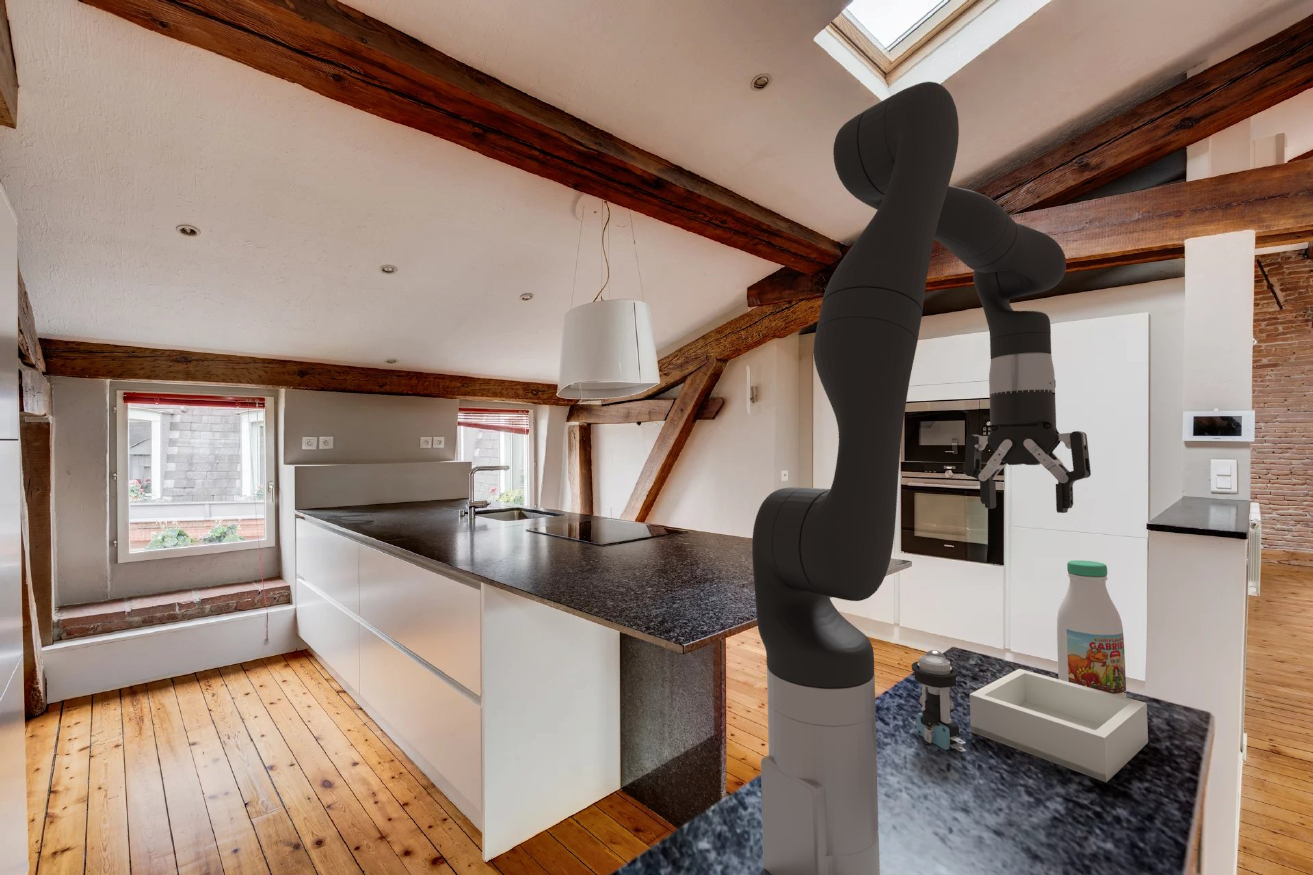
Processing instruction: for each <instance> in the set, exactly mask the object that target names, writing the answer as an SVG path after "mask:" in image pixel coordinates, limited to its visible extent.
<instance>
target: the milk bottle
mask: <svg viewBox="0 0 1313 875" xmlns="http://www.w3.org/2000/svg"><path fill="white" fill-rule="evenodd" d="M1066 567H1067V568H1066V569H1067V572H1068V573H1067V576H1068V578H1069V585H1068V588H1067V591H1066V593H1065V595H1064V597H1063V599H1062V601H1061V603H1060V605H1059V607H1058V612H1057V618H1056V644H1057V647H1056V648H1057V671H1058V673H1057V676H1058V678H1057V679H1059V680H1063V681H1067V682H1070V683H1074V684H1078V685H1082V686H1085V687H1089V688H1093V689H1096V690H1100V691H1104V692H1108V693H1111V694H1115V695H1119V696H1122V697H1126V698H1127V679H1126V659H1125V658H1126V656H1125V638H1124V627H1123V622H1122V619H1121V615H1120V613H1119V612H1118V610H1117V608H1116V606H1115V603H1114V602H1113V600H1112V598H1111V596H1110V594H1109V592H1108V588H1107V585H1106V582H1107V580H1108V566H1107V564H1105V563H1102V562H1099V561H1093V560H1078V559H1076V560H1069V561H1067V564H1066ZM1084 681H1085V682H1084ZM1093 683H1094V684H1093ZM1099 685H1101V686H1099ZM1103 686H1106V687H1103ZM1111 688H1114V689H1111ZM1117 690H1119V691H1117ZM1124 692H1126V693H1124Z"/></svg>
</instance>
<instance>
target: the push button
mask: <svg viewBox="0 0 1313 875" xmlns="http://www.w3.org/2000/svg"><path fill="white" fill-rule="evenodd" d="M945 658H946V657H945ZM945 658H942V657H938V656H925V655H921V656H919V658H918V660H917V661H915V662H913V663H912V664H911V671H912V672H913V673H914V674H913V676H914V680H915V682H917V683H919V684H921V696H922V705H921V711H922V712H919V713H917V714H916V724H917V726H916V727H917V728H916V732H917V734H918V735H919V736H920V737H922V738H924V740H925V741H926V742H928V743H929V744H931V743H933V744H935V745H936V746H938V747H939V748H941V749H943V750H945V751H947V750H950V749H951V750H952V749H955V750H957V751H959V752H961V753H964V752H967V749H965V748H963V747H961V745H964V744H966V741H965V740H963V739H961V738H960V726H959V725H958V724H957V723H955V722H953V721H952V719H951V711H950V702H949V699H950V689H951V688H953V687H955V686H956V685H957V678H958V677H959V670H958V669H957V667H955V666H953V665H951V661H950V660H948V659H947V658H946V659H945Z"/></svg>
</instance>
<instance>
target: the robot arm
mask: <svg viewBox="0 0 1313 875" xmlns="http://www.w3.org/2000/svg"><path fill="white" fill-rule="evenodd" d="M958 115H959V114H958V109H957V106H956V104H955V101H954V98H953V96H952V94H951V93H950V91H949V90H948V89H947V88H946V87H945V86H944V85H942V84H940V83H938V82H935V81H923V82H919V83H916V84H912V85H911V86H908V87H906V88H904V89H902V90H899V91H897V93H894V94H892V95H890V96H889V97H887V98H885V99H882V100H881V101H880V102H878V103H876V104H875V105H872V106H871V107H869V108H867V109H865V110H863V111H862V112H860V113H858V114H857V115H855V116H854V117H852V118H850V119H849V120H848V121H847V122H845V123H844V124H843V125H842V126H841V127H840V129H839V130H838V132H837V134H836V136H835V139H834V142H833V148H832V149H833V154H832V155H833V163H834V168H835V171H836V174H837V176H838V179H839V181H841V184H842V185H843V187H844V188H845V189H846V190H847V192H849V193H850V194H851V195H852V196H853V197H854V198H855V199H857V200H859V201H860V202H862V203H863V204H865V205H867V206H869V207H870V208H873V209H874V210H877V211H876V212H875V214H874V215H873V217H872V218H871V219H870V221H869V222H868V224H867V225H866V227H865V228H864V230H863V231H862V232H861V234H860V235H859V236H858V237H857V239H856V240H855V242H854V243H853V245H851V247H850V249H849V250H848V251H847V253H846V254H845V255H844V257H842V258H843V259H842V260H841V261H840V263H839V264H838V266H837V268H836V269H835V270H834V271H833V274H832V276H830V279H829V281H828V284H827V286H826V288H825V290H824V293H823V296H822V297H823V298H822V300H821V305H820V310H819V311H820V312H819V316H818V320H817V325H816V330H815V335H814V339H813V340H814V341H813V359H814V364H815V368H816V372H817V374H818V377H819V381H820V382H821V385H822V387H823V390H824V392H825V394H826V396H827V399H828V400H829V403H830V406H831V408H832V411H833V413H834V417H835V419H836V424H837V431H838V446H837V447H838V448H837V456H836V463H835V470H834V474H833V475H834V476H833V479H832V480H833V481H832V483H831V487H830V488H816V487H812V488H811V487H783V488H779V489H776V490H775V491H773V492H771V493H770V494H769V495H768V496H766V498H765V499H764V500H763V502H762V503H761V505H760V507H759V509H758V511H757V512H756V513H757V514H756V517H755V521H754V525H753V532H752V540H751V544H752V546H751V547H752V548H751V549H752V550H751V551H752V557H751V558H752V571H753V585H754V597H755V610H756V614H755V615H756V623H757V629H758V633H759V636H760V639H761V641H762V644H763V646H764V648H765V654H766V680H767V681H766V682H767V685H766V687H767V688H766V689H767V727H768V728H767V732H768V733H767V734H768V736H767V737H768V739H767V742H768V755H765V756H764V757H763V758H761V760H760V777H761V779H760V780H761V781H760V784H761V825H762V826H761V829H762V830H761V831H762V867H763V869H765V870H766V871H767V872H768V873H770V874H771V875H881V874H880V873H881V872H880V871H881V869H880V867H881V866H880V829H879V798H878V797H879V796H878V795H879V793H878V761H877V758H878V757H877V725H876V724H877V722H876V720H877V719H876V717H877V716H876V685H875V683H876V681H875V654H874V648H873V645H872V642H871V641H870V638H869V637H868V636H866V634H865V633H864V632H862V630H860V629H858V627H856V626H855V625H854V624H852V623H851V622H850V621H849V620H847V619H846V617H844V616H843V615H842V614H841V613H840V612H839V611H838V609H837V608H836V607H835V605H834V603H833V602H832V600H831V598H834V599H839V600H844V601H850V602H851V601H852V602H860V601H865V600H866V599H867V600H868V599H869V598H871V596H874V595H875V593H876V592H877V591H878V589H880V587H881V586H882V584H883V582H884V579H885V577H886V575H887V572H888V570H889V567H890V563H891V560H892V555H893V554H892V553H893V548H894V541H895V540H894V539H895V533H896V522H897V520H896V518H897V505H898V504H897V502H898V488H899V487H898V484H899V475H900V474H899V473H900V472H899V471H900V458H901V457H900V456H901V444H902V435H903V428H904V420H905V414H906V413H905V412H906V407H907V400H908V391H909V389H910V388H909V386H910V382H911V375H912V370H913V367H914V366H913V364H914V360H915V356H916V350H917V347H918V342H919V335H920V329H921V324H922V323H921V322H922V317H923V310H924V309H923V308H924V300H925V293H926V287H927V285H926V284H927V279H928V275H929V269H930V268H929V267H930V262H931V257H932V251H933V247H934V246H933V245H934V242H935V241H936V242H938V243H939V244H941V245H942V246H944V248H945V249H947V250H948V251H949V252H950V253H952V254H953V255H954V256H955V257H956V258H957V259H958V260H959V261H961V262H962V263H963V264H964V265H965V266H966V267H968V268H969V269H971V270H973V278H972V279H973V283H974V287H975V290H976V293H977V296H978V298H979V301H980V303H981V306H982V309H983V311H984V312H983V313H984V315H985V318H986V323H987V326H988V331H989V347H990V349H989V350H990V351H989V352H990V366H989V373H988V375H989V376H988V386H989V390H988V391H989V416H990V418H989V420H990V421H989V423H990V432H989V434H988V435H980V434H968V435H967V436H965V457H964V459H965V460H964V474H965V476H967V477H972V478H974V479H976V480H978V482H979V493H980V497H979V498H980V503H981V504H983V505H984V507H985V509H991V510H992V509H996V507H997V486H996V485H997V484H996V481H994V479H995V478H996V477H997V475H998V474H999V473H1000V472H1001V470H1003V469H1004V468H1005V467H1006V466H1007V465H1008V466H1021V465H1027V466H1040V465H1042V466H1043V468H1045V470H1047V471H1049V472H1050V474H1051V475H1052V476H1053V477H1054V478H1055V479H1056V480H1057V483H1055V507H1056V508H1055V509H1056V513H1058V514H1059V513H1060V514H1065V513H1068V512H1069V509H1072V508H1073V506H1074V488H1073V487H1074V483H1075V482H1076V481H1081V480H1083V479H1087V478H1090V477H1091V475H1092V473H1091V472H1092V470H1091V463H1090V461H1091V460H1090V454H1089V443H1088V436H1087V433H1086V432H1084V431H1081V430H1076V431H1075V430H1074V431H1072V432H1066V433H1064V432H1063V433H1060V432H1059V431H1058V429H1057V428H1058V427H1057V411H1056V410H1057V409H1056V408H1057V406H1056V386H1057V383H1056V382H1057V381H1056V379H1055V376H1056V374H1055V367H1054V363H1053V356H1052V335H1051V333H1052V332H1051V330H1052V329H1051V320H1050V317H1049V316H1048V314H1047V313H1045V312H1043V311H1040V310H1039V311H1038V310H1013V308H1012V306H1011V304H1010V299H1015V298H1019V297H1024V296H1025V297H1026V296H1029V295H1035V294H1040V293H1044V292H1047V291H1049V290H1051V289H1053V288H1055V287H1056V286H1057V285H1058V284H1059V283H1060V282H1061V281H1062V280H1063V278H1064V276H1065V274H1066V270H1067V258H1066V255H1065V252H1064V249H1063V248H1062V247H1061V246H1060V244H1059V243H1058V242H1057V241H1056V240H1055V239H1054V238H1053V237H1051V236H1050V235H1048V234H1046V233H1044V232H1042V231H1040V230H1037V229H1035V228H1033V227H1029V226H1027V225H1024V224H1021V223H1018V222H1016V221H1015V220H1014V218H1012V217H1011V215H1009V214H1008V212H1006V210H1005V209H1003V207H1002V206H1001V205H1000V204H999V203H998V202H996V201H994V200H993V199H992V198H990V197H989V196H987V195H984V194H982V193H980V192H978V191H973V190H971V189H967V188H964V187H959V186H954V185H950V182H951V178H952V175H953V172H954V168H955V164H956V159H957V153H958V148H959V136H960V132H959V131H960V128H959V116H958ZM934 240H935V241H934ZM1061 442H1062V443H1063V444H1064V445H1065V448H1067V449H1069V450H1070V452H1071V460H1072V470H1071V471H1070V470H1069V469H1068V468H1067V467H1066V466H1065V465H1064V463H1063V462H1062V461H1061V459H1060V458H1059V457H1058V456H1057V455H1056V454H1055V453H1054V451H1055V450H1056V448H1057V447H1058V446H1059V444H1061ZM987 445H989V446H990V448H991V449H992V450H993V451H994V453H993V454H992V456H991V457H990V458H989V460H988V461H987V462H986V465H985V466H984V467H983V469H981V468H982V463H981V462H982V451H983V450H985V448H986V446H987Z"/></svg>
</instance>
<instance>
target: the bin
mask: <svg viewBox="0 0 1313 875" xmlns="http://www.w3.org/2000/svg"><path fill="white" fill-rule="evenodd" d="M1147 708H1148V706H1147V702H1144V701H1140V700H1136V699H1132V698H1129V697H1127V696H1126V697H1122V696H1119V695H1115V694H1111V693H1108V692H1104V691H1100V690H1096V689H1093V688H1089V687H1085V686H1082V685H1078V684H1074V683H1070V682H1067V681H1063V680H1059V678H1055V677H1051V676H1048V675H1044V674H1040V673H1037V672H1033V671H1029V670H1026V669H1022V668H1017V669H1015V670H1014V671H1012V672H1010V673H1008V674H1006V675H1004V676H1002V677H1001V678H999V679H996V680H995V681H993V682H990V683H988V684H986V685H985V686H983V687H981V688H979V689H977V690H975V691H973V692H970V693H969V713H970V714H969V717H970V718H969V719H970V720H969V721H970V733H973V734H976V735H978V736H981V737H984V738H987V739H989V740H991V741H994V742H997V743H1000V744H1002V745H1005V746H1007V747H1010V748H1013V749H1015V750H1018V751H1021V752H1023V753H1024V752H1025V753H1026V754H1029V755H1032V756H1034V757H1038V758H1040V759H1041V760H1045V761H1048V762H1051V763H1053V764H1056V765H1058V766H1061V767H1064V768H1066V769H1068V770H1072V771H1074V772H1077V773H1079V774H1083V775H1084V776H1085V775H1086V776H1088V777H1090V778H1093V779H1096V780H1098V781H1101V782H1104V783H1105V784H1106V783H1107V782H1108V781H1110V779H1112V778H1113V777H1115V775H1116V774H1117V773H1119V771H1120V770H1121V769H1122V768H1123V767H1124V766H1125V765H1126V764H1127V763H1128V762H1129V761H1130V760H1132V759H1133V758H1134V757H1135V756H1136V755H1137V754H1138V753H1139V752H1140V751H1141V750H1143V748H1144V747H1145V746H1147V744H1148V743H1149V733H1148V732H1149V731H1148V729H1149V728H1148V709H1147Z"/></svg>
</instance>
